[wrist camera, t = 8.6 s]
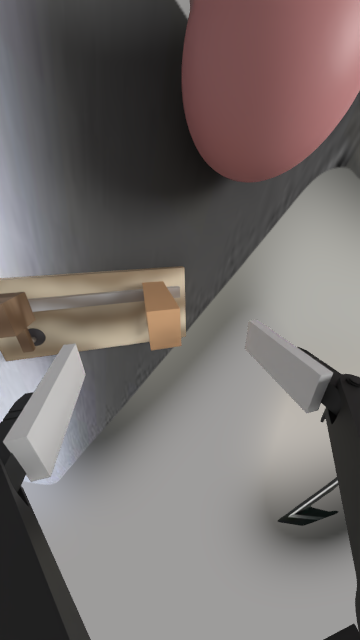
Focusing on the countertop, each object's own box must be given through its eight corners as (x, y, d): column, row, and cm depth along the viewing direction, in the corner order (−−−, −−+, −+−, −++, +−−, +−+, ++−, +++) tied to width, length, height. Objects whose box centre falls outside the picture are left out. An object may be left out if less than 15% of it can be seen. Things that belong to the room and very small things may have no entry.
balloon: (213, -88, 17) (516, -1342, 4) (301, 132, 26) (489, 15, 12) (107, 63, 20) (42, -344, 6) (220, 219, 28) (302, 203, 14)
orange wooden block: (142, 282, 27) (146, 312, 16) (162, 280, 28) (180, 308, 17) (147, 330, 30) (154, 382, 20) (165, 328, 31) (182, 377, 20)
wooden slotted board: (-26, 280, 25) (-83, 295, 18) (182, 266, 30) (195, 274, 23) (11, 355, 30) (-23, 389, 23) (183, 332, 35) (195, 354, 28)
